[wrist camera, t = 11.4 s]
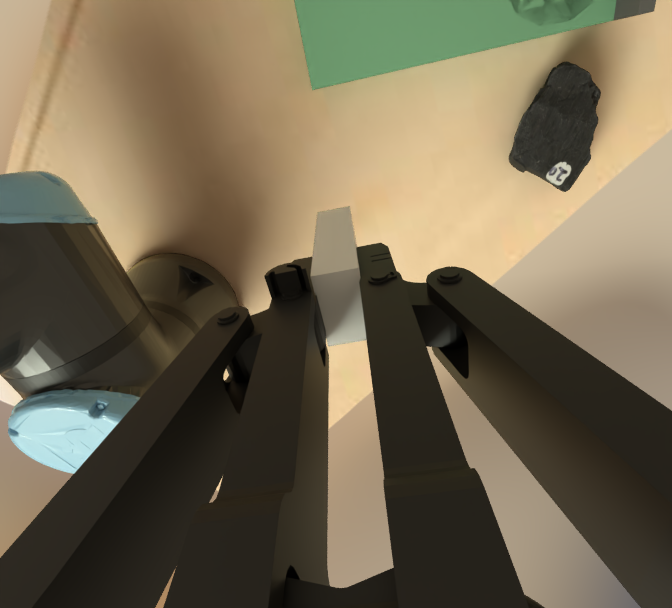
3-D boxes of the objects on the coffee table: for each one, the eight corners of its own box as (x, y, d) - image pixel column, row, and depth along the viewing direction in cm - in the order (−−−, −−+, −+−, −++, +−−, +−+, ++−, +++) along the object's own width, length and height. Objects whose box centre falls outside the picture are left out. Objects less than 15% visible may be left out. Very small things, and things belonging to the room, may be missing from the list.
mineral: (614, 110, 38) (656, 114, 34) (553, 189, 43) (582, 204, 38) (538, 60, 36) (570, 56, 31) (481, 149, 40) (502, 158, 35)
